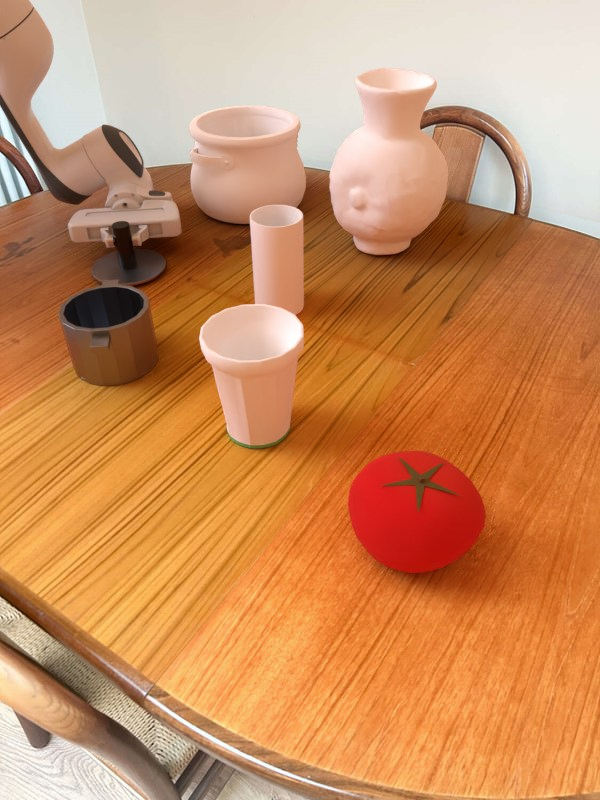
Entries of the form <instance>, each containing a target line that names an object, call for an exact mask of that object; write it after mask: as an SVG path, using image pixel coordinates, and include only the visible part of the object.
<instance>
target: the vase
mask: <svg viewBox="0 0 600 800" xmlns="http://www.w3.org/2000/svg"><path fill="white" fill-rule="evenodd" d="M354 79H355V80H354V84H355V87H356V90H357V94H358V95H359V100H360V103H361V106H362V112H363V125H362V126H360V127H359V128H356V129H355V130H353V131H352V132H351V133H350V134H349V135H348V137H347V138H345V139H344V140H343V142H342V144H341V146H339V148H338V149H337V152H336V154H335V156H334V159H333V162H332V165H331V167H330V172H329V186H328V187H329V193H330V202H331V206H332V210H333V215H334V217H335V219H336V221H337V223H338V224H339V225H340V226H341V228H342V230H344V231H346V232H347V233H349V234H350V235H352V240H353V243H354V246H355V248H356V249H357V250H359V251H360V252H362V253H365V254H368V255H373V256H384V255H385V256H386V255H387V256H388V255H389V256H390V255H396V254H399V253H401V252H404V251H405V250H407V249H408V248H410V245H411V242H412V239H414V238H416V237H417V236H419V235H421V234H422V233H423V231H425V230H426V229H427V228H428V227H429V226H430V225H431V224H432V222H434V221H435V220H436V219H437V218H438V216H439V215H440V212H441V210H442V207H443V204H444V202H445V201H446V200H445V199H446V195H447V190H448V181H449V177H450V173H449V167H448V163H447V159H446V157H445V155H444V154H443V152H442V151H441V149H440V148H439V146H438V144H437V142H435V140H434V139H433V138H432V137H431V136H430V135H429V134H428V133H427V132H425V131H423V130H422V129H421V121H422V117H423V115H424V112H425V110H426V107H427V105H428V103H429V102H430V100H431V98H432V96H433V95H434V93H435V91H436V90H437V87H438V83H437V81H436V78H434V77H433V76H431V75H428V74H426V73H425V72H418V71H415V70H409V69H405V68H395V67H393V68H391V67H380V68H375V69H371V70H369V71H366V72H362V73H361V74H360V75H357V76H356V77H355V78H354Z"/></svg>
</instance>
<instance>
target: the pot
mask: <svg viewBox="0 0 600 800" xmlns="http://www.w3.org/2000/svg"><path fill="white" fill-rule="evenodd" d="M188 130H189V134H190V136H191V138H192V139H193V140H194V146H193V148H192V149H190V151H189V152H190V163H192V165H191V170H190V181H189V185H190V189H191V194H192V198H193V199H194V201H195V203H196V205H197V207H198V208H200V210H201V211H202V212H203V213H204V214H205V215H206V216H208V217H210V218H212V219H214V220H217V221H220V222H224V223H230V224H236V225H237V224H239V225H250V214H251V213H252V212H253V211H254V210H255V209H257V208H260V207H263V206H268V205H287V206H292V207H295V208H297V209H298V207H299V205H300V204H301V203H302V201H303V198H304V195H305V192H306V188H307V176H306V170H305V166H304V163H303V160H302V157H301V155H300V153H299V151H298V139H299V132H300V130H301V120H300V118H299V117H298V116H297V115H296V114H295V113H293V112H291V111H289V110H286V109H283V108H279V107H275V106H268V105H250V104H249V105H233V106H225V107H219V108H213V109H211V110H208V111H204V112H202V113H199V114H198V115H196V116H194V117H193V118H192V119H191V120H190V123H189V126H188Z"/></svg>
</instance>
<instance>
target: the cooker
mask: <svg viewBox="0 0 600 800" xmlns="http://www.w3.org/2000/svg"><path fill="white" fill-rule="evenodd" d="M57 316H58V319H59V323H60V326H61V330H62V334H63V336H64V340H65V343H66V346H67V350H68V353H69V357H70V361H71V363H72V364H71V365H72V367H73V369H74V371H75V374H76V375H77V377H78V378H79V379H81V380H82V381H83V382H86V383H88V384H91V385H94V386H101V387H111V386H112V387H115V386H121V385H126V384H128V383H132V382H135V381H137V380H139V379H141V378H143V377H144V376H146V375H148V374H149V373H150V372H151V371H152V370H153V369H154V368H155V366H156V365H157V363H158V360H159V346H158V341H157V336H156V330H155V324H154V320H153V315H152V308H151V303H150V298H149V297H148V296H147V294H146V293H145V292H144V291H143V290H141V289H139V288H136V287H134V286H127V285H120V283H119V279H118V280H105V281H103V283H101V285H97V286H93V287H89V288H85V289H82V290H80V291H78V292H77V293H74V294H73V295H71V296H69V297H68V298H67V299H66V300H65V301H64V302H62V304H61V305H60V307H59V310H58V314H57Z"/></svg>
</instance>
